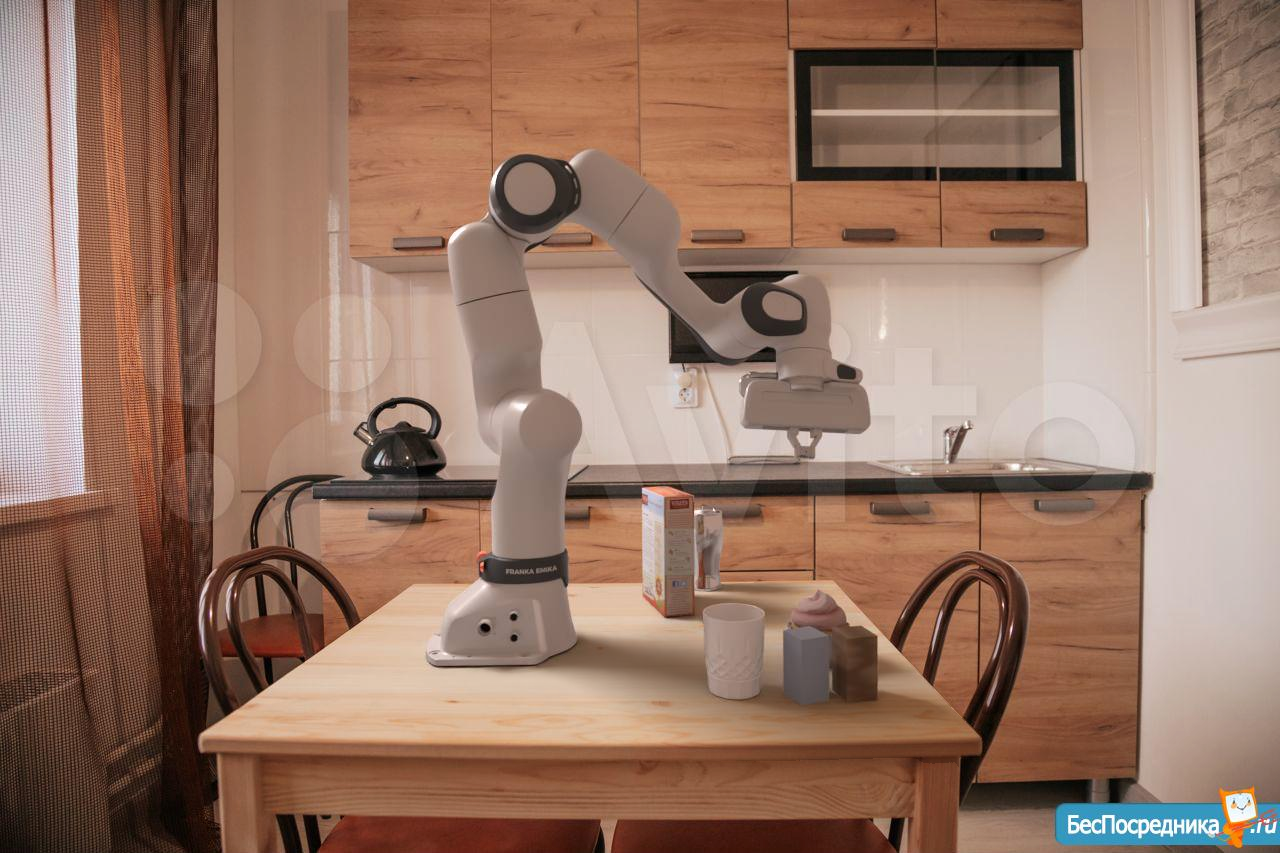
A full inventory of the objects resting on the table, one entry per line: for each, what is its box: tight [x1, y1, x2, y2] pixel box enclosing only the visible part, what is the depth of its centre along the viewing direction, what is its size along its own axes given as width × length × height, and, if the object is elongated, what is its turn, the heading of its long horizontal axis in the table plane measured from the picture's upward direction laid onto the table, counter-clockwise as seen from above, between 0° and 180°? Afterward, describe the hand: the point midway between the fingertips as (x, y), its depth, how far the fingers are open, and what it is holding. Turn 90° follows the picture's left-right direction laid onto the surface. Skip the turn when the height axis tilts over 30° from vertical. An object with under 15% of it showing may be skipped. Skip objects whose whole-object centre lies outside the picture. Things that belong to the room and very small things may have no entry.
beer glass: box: [694, 508, 724, 592], centre depth 137 cm, size 7×7×15 cm
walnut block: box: [831, 625, 879, 704], centre depth 86 cm, size 4×4×8 cm
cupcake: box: [785, 589, 850, 667], centre depth 98 cm, size 9×9×10 cm
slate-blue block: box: [782, 626, 830, 706], centre depth 86 cm, size 4×4×8 cm
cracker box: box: [641, 486, 696, 618], centre depth 125 cm, size 14×6×21 cm, turn 15°
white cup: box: [702, 602, 766, 701], centre depth 89 cm, size 8×8×10 cm
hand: (804, 458), depth 109 cm, fingers closed
